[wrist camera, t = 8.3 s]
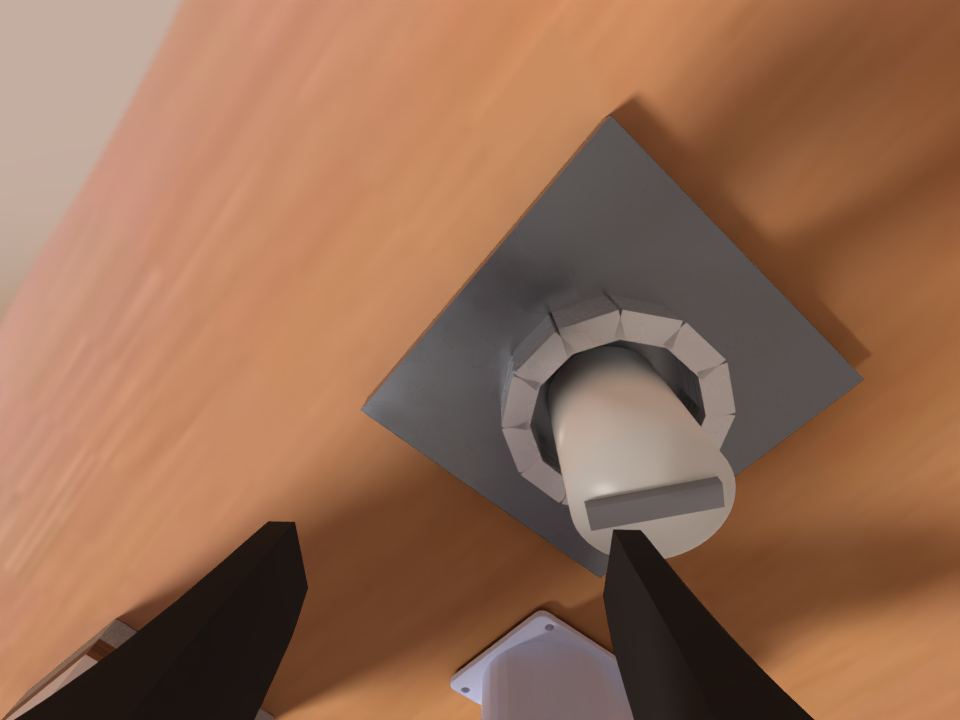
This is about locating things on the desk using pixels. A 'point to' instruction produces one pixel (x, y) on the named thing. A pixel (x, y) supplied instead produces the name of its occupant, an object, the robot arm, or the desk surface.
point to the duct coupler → (635, 454)
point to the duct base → (604, 336)
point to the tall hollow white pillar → (83, 668)
